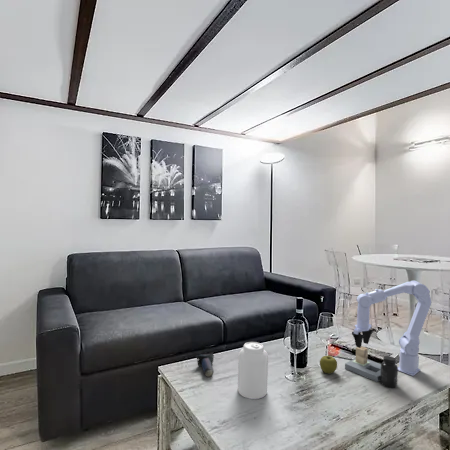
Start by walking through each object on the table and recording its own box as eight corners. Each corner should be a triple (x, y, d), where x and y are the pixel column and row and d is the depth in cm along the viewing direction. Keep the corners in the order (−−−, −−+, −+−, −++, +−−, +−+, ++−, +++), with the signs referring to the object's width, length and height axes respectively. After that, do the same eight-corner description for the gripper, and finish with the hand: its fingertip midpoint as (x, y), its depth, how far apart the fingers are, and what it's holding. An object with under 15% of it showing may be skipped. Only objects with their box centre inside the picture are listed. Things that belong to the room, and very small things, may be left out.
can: (269, 386, 140) (271, 341, 139) (263, 402, 128) (265, 353, 127) (242, 381, 144) (243, 337, 143) (233, 396, 132) (235, 348, 131)
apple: (339, 376, 150) (339, 361, 150) (321, 375, 150) (322, 360, 150) (333, 368, 158) (334, 354, 158) (317, 368, 158) (318, 353, 158)
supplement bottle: (399, 389, 140) (400, 362, 140) (382, 387, 141) (383, 360, 141) (394, 381, 147) (395, 355, 146) (378, 379, 148) (379, 354, 148)
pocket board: (359, 360, 167) (359, 355, 167) (390, 372, 155) (391, 367, 155) (344, 368, 158) (345, 363, 158) (377, 382, 146) (377, 376, 146)
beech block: (359, 359, 163) (360, 345, 163) (367, 362, 160) (367, 348, 160) (355, 361, 160) (356, 347, 160) (363, 364, 157) (363, 350, 157)
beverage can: (197, 368, 157) (202, 382, 146) (195, 354, 156) (200, 367, 145) (215, 363, 160) (221, 376, 148) (213, 349, 159) (219, 361, 147)
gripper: (362, 313, 169) (361, 339, 169) (348, 319, 159) (347, 346, 160) (375, 317, 163) (374, 343, 164) (362, 323, 154) (360, 350, 155)
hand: (362, 345), depth 162 cm, fingers open, 7 cm apart
